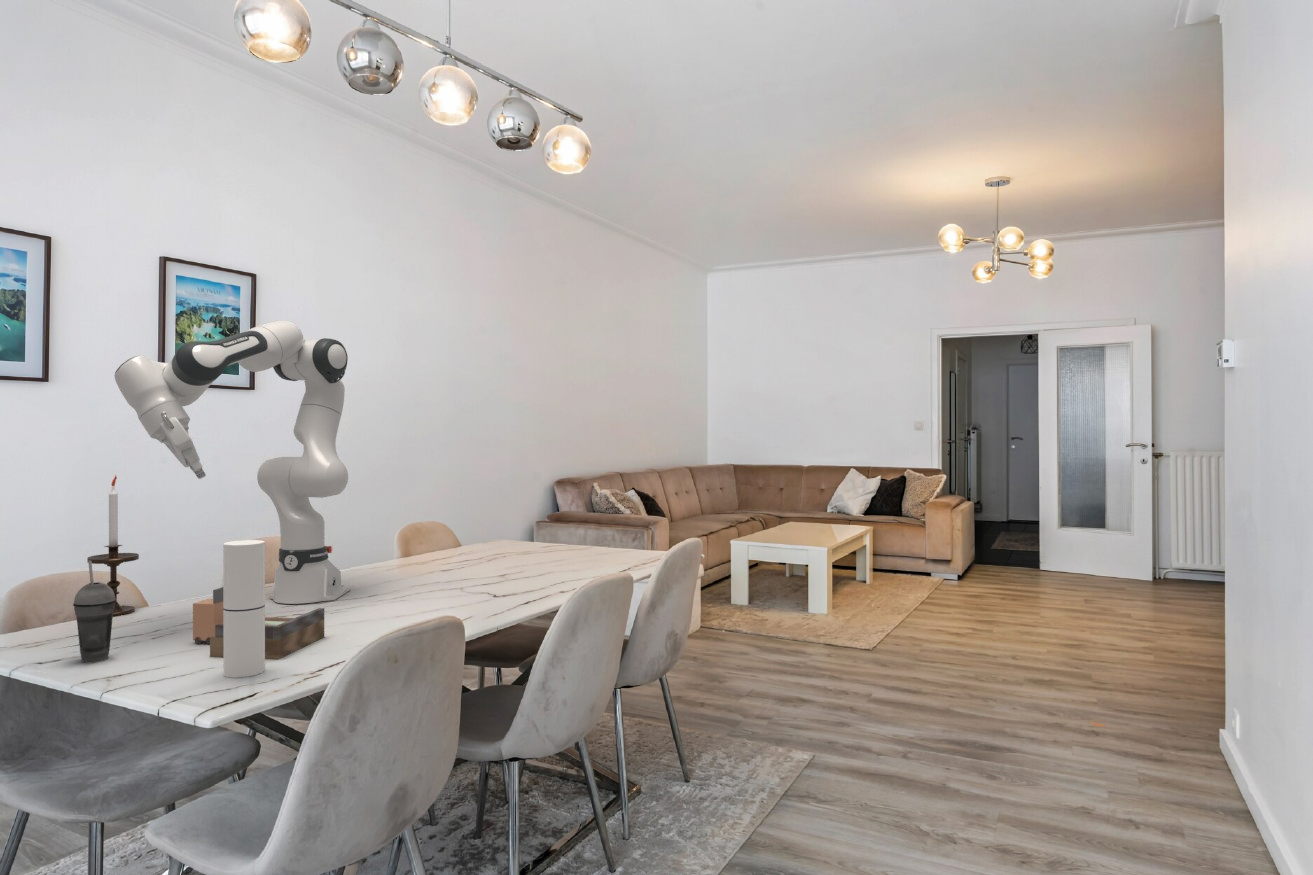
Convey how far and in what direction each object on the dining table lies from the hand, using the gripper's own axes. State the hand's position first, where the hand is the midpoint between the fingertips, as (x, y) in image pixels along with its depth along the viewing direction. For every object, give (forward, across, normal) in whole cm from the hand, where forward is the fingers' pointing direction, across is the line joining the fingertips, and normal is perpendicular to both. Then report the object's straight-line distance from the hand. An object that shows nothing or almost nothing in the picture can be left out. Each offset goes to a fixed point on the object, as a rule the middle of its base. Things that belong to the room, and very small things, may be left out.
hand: (200, 473), depth 186 cm
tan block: (+34, +1, +17) cm, 38 cm away
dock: (+42, -8, +8) cm, 43 cm away
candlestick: (+13, +41, +33) cm, 54 cm away
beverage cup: (+25, -5, +35) cm, 43 cm away
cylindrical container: (+44, -26, +14) cm, 53 cm away
